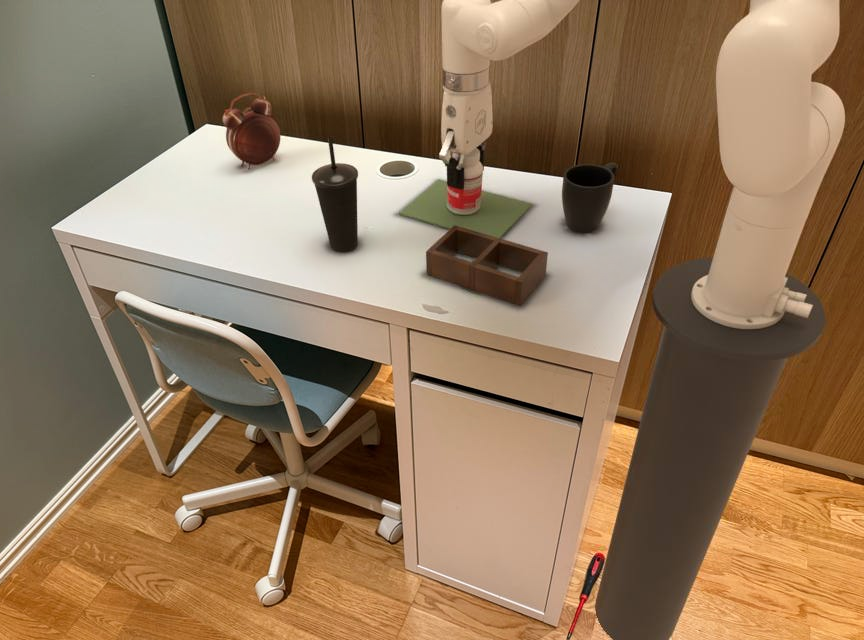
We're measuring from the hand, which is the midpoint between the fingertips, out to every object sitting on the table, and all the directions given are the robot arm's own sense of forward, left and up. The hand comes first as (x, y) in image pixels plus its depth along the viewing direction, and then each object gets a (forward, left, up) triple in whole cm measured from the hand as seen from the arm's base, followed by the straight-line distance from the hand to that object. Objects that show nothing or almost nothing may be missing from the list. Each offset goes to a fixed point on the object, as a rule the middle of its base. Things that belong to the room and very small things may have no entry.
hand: (465, 177), depth 127 cm
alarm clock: (+48, +4, -7) cm, 49 cm away
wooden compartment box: (-13, +16, -7) cm, 22 cm away
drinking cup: (+13, +20, -7) cm, 25 cm away
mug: (-21, -7, -7) cm, 23 cm away
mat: (0, 0, -7) cm, 7 cm away
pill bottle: (0, 0, -6) cm, 6 cm away
